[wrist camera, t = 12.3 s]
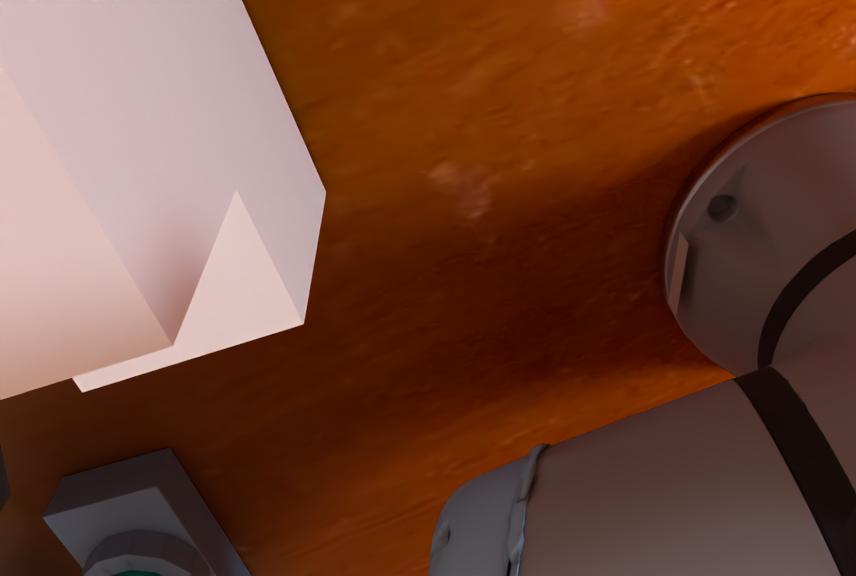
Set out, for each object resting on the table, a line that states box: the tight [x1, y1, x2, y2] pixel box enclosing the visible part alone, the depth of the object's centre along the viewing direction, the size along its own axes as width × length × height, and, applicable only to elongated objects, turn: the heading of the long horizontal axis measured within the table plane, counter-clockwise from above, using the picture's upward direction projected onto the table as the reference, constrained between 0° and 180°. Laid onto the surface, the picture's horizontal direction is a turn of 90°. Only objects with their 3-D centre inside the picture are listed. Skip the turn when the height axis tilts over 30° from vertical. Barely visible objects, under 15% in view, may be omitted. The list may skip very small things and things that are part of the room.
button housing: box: [42, 448, 251, 576], centre depth 49 cm, size 7×12×5 cm, turn 18°
